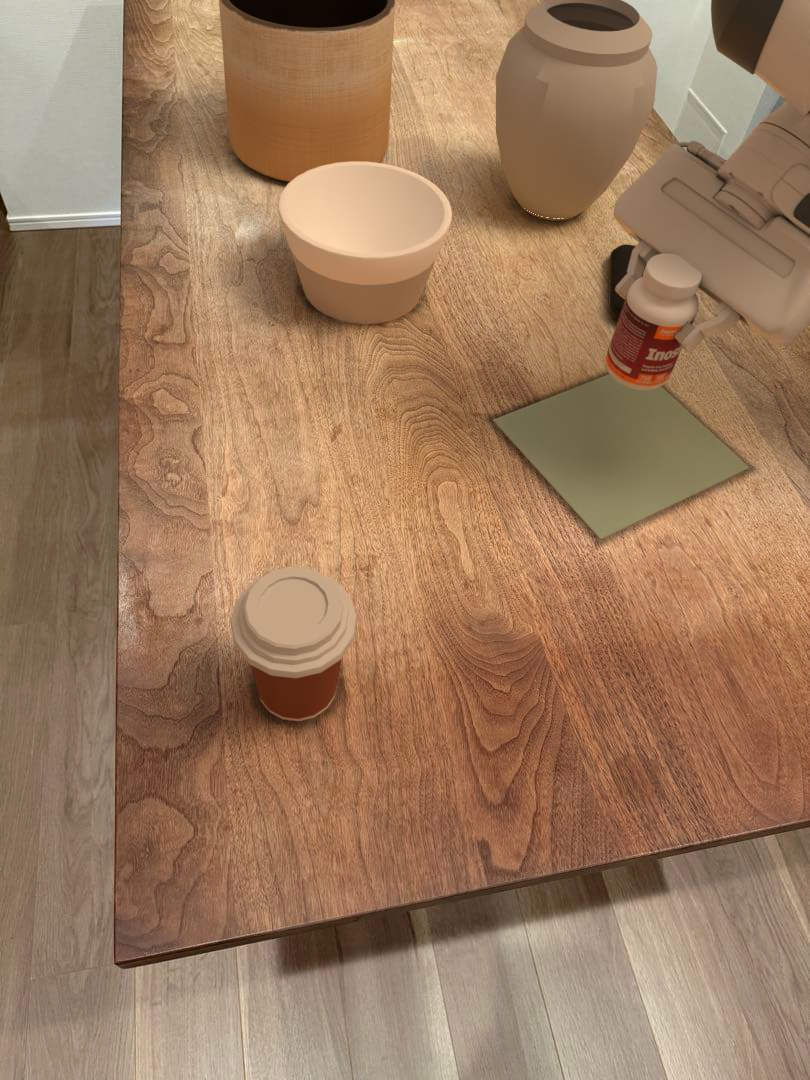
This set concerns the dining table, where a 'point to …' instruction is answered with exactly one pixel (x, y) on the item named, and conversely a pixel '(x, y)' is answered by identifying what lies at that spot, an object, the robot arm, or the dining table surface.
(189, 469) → the dining table surface
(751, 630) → the dining table surface
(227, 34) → the planter
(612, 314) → the carrying case
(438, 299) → the dining table surface
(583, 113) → the vase
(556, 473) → the mat
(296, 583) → the coffee cup
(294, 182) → the bowl
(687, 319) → the pill bottle
